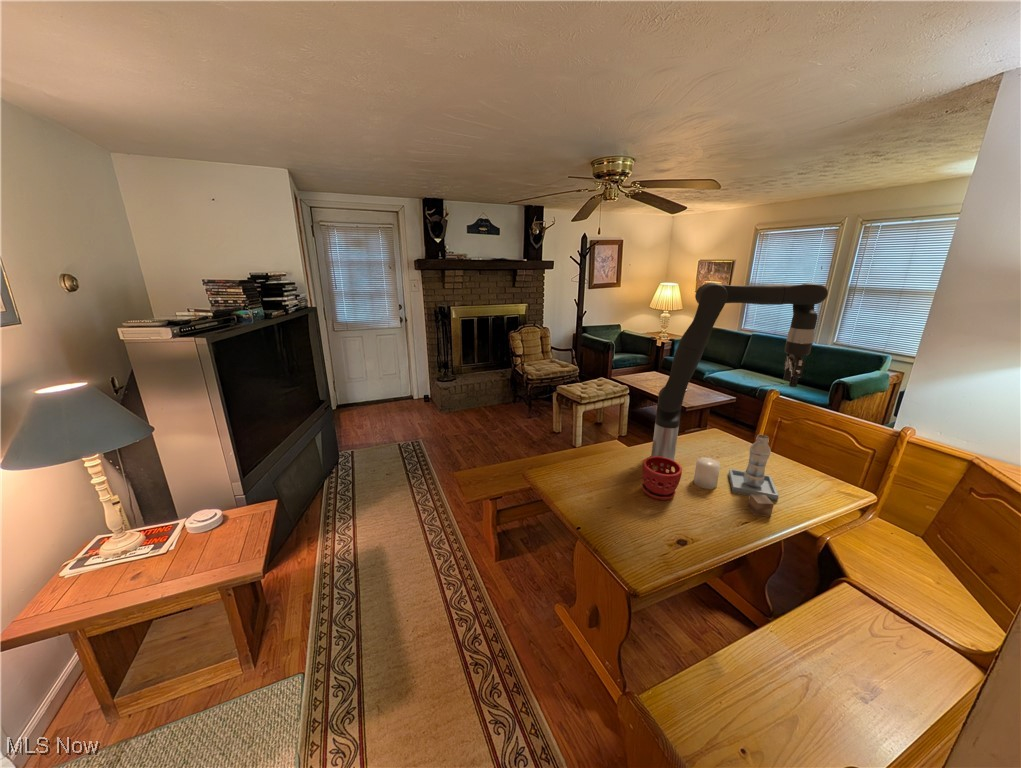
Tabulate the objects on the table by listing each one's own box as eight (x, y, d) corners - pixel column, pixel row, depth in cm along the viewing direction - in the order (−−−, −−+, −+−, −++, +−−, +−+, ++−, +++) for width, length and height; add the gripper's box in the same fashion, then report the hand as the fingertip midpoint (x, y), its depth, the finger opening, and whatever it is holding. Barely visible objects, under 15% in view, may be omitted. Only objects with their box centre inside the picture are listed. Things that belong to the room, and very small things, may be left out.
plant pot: (634, 494, 138) (637, 465, 134) (649, 479, 147) (652, 452, 143) (669, 508, 130) (674, 478, 126) (683, 492, 139) (687, 463, 135)
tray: (732, 492, 138) (733, 486, 137) (728, 473, 150) (729, 468, 150) (777, 501, 133) (778, 495, 132) (769, 481, 145) (770, 475, 144)
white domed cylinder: (693, 486, 142) (697, 465, 140) (693, 475, 149) (696, 455, 147) (717, 490, 139) (721, 469, 137) (715, 480, 146) (719, 459, 143)
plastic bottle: (738, 480, 144) (747, 433, 138) (754, 479, 144) (765, 432, 138) (749, 490, 138) (760, 441, 132) (767, 488, 138) (778, 440, 132)
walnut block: (755, 515, 126) (758, 503, 124) (747, 506, 130) (750, 494, 129) (770, 516, 125) (773, 503, 124) (762, 507, 130) (765, 494, 128)
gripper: (782, 336, 142) (773, 377, 147) (791, 343, 129) (781, 387, 134) (806, 337, 139) (796, 379, 144) (818, 345, 126) (807, 390, 131)
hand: (789, 383), depth 139 cm, fingers open, 8 cm apart
